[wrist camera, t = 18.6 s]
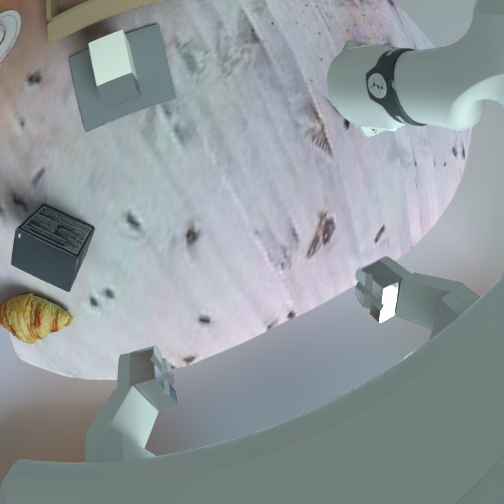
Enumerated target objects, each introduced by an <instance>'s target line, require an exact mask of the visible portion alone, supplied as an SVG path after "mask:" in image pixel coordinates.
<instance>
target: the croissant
mask: <svg viewBox="0 0 504 504" xmlns="http://www.w3.org/2000/svg"><path fill="white" fill-rule="evenodd" d="M73 318H74V317H73V316H72V315H71V314H70V313H68V312H67V311H65V310H63V309H62V308H61V307H59V306H58V305H56V304H54V303H52V302H50V301H48V300H46V299H43V298H40V297H38V296H34V294H33V293H29V294H24V295H18V296H15V297H13V298H11V299H9V300H6V301H4V302H3V303H1V304H0V326H2V327H4V328H7V330H8V331H10V332H11V333H12V334H13V336H16V337H17V338H18V339H20V340H21V341H23V342H26V343H29V344H33V343H36V341H37V340H38V339H42V338H45V337H46V336H47V334H49V333H51V332H56V331H59V330H60V329H61V328H63V326H70V325H71V324H72V323H73V320H74V319H73Z"/></svg>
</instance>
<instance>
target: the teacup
mask: <svg viewBox="0 0 504 504" xmlns="http://www.w3.org/2000/svg"><path fill="white" fill-rule="evenodd" d="M21 25H22V21H21V16H20V14H19V13H18V12H17V11H14V10H9V11H5V12H3V13H1V14H0V42H1V40H2V38H3V36H4V32H5V31H6V35H5V38H4V41H3V42H2V44H1V45H0V62H1V61H2V60H3V59H4V58H5V56H6V55H7V54H8V53H9V52H10V50H11V48H12V47H13V45H14V44H15V42H16V40H17V37H18V35H19V33H20V29H21Z"/></svg>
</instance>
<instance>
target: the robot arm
mask: <svg viewBox="0 0 504 504" xmlns="http://www.w3.org/2000/svg"><path fill="white" fill-rule="evenodd" d="M327 85H328V91H329V95H330V98H331V100H332V102H333V104H334V106H335V108H336V109H337V110H338V112H339V113H340V114H341V115H342V116H343V117H344V118H345V119H347V120H348V121H350V122H352V123H353V124H355V125H356V126H357V128H358V129H359V131H360V132H361V133H362V135H364V136H365V137H371V136H373V135H376V134H378V133H380V132H383V131H385V130H390V131H395V130H396V128H399V127H402V126H403V125H405V124H407V125H412V126H416V125H417V126H424V125H427V124H428V125H434V126H439V127H444V128H448V129H453V130H457V131H462V130H466V129H469V128H471V127H473V126H474V125H475V124H477V122H478V121H479V120H480V118H481V116H482V113H483V110H484V107H485V102H486V99H490V100H495V101H497V102H499V103H501V104H502V107H503V109H504V0H477V2H476V4H475V7H474V12H473V18H472V22H471V25H470V27H469V29H468V31H467V33H466V34H465V35H464V36H463V37H462V38H461V39H460V40H459V41H457V42H456V43H454V44H452V45H449V46H446V47H439V48H432V49H424V50H414V49H410V48H406V49H405V48H397V47H392V48H390V45H382V44H381V43H376V44H367V43H363V42H360V41H357V40H348V41H347V42H346V43H345V45H344V48H343V51H342V52H341V53H340V54H339V55H338V56H336V57H335V59H334V60H333V61H332V63H331V65H330V67H329V70H328V75H327ZM356 279H357V280H358V283H357V285H356V288H355V289H356V296H357V299H358V301H359V302H360V304H361V305H362V306H363V307H365V308H369V309H370V314H371V315H372V316H373V317H374V318H375V319H376V320H377V321H378V322H379V323H381V322H382V321H384V320H386V319H388V318H390V317H392V316H394V315H395V316H397V317H400V318H402V319H405V320H408V321H410V322H413V323H416V324H418V325H421V326H423V327H426V328H428V329H431V333H430V336H429V340H428V341H427V342H426V343H425V344H423V345H422V346H420V347H419V348H417V349H416V350H415V351H414V352H412V353H410V354H409V355H407V356H406V357H405V358H403V359H401V360H400V361H398V362H397V363H395V364H394V365H392V366H391V367H389V368H387V369H386V370H384V371H383V372H381V373H379V374H378V375H376V376H374V377H373V378H371V379H369V380H367V381H366V382H364V383H362V384H361V385H359V386H357V387H355V388H353V389H351V390H350V391H348V392H346V393H344V394H342V395H340V396H338V397H336V398H334V399H332V400H330V401H328V402H326V403H324V404H322V405H319V406H317V407H315V408H313V409H311V410H309V411H306V412H304V413H302V414H300V415H297V416H295V417H292V418H290V419H288V420H285V421H282V422H280V423H277V424H275V425H272V426H269V427H267V428H264V429H261V430H258V431H255V432H252V433H250V434H246V435H243V436H240V437H237V438H233V439H230V440H227V441H223V442H220V443H216V444H213V445H208V446H204V447H201V448H196V449H192V450H187V451H182V452H177V453H172V454H167V455H161V456H155V455H154V454H152V453H151V452H149V451H147V450H146V449H144V448H145V445H146V443H147V440H148V437H149V435H150V432H151V430H152V427H153V424H154V422H155V419H156V417H157V414H158V410H161V409H165V408H169V407H172V406H176V405H178V401H177V395H176V390H175V389H174V388H173V387H172V385H173V383H174V375H173V372H172V369H171V367H170V365H169V363H168V361H167V360H166V359H164V358H162V357H161V351H160V350H159V349H158V347H157V346H152V347H149V348H145V349H141V350H138V351H134V352H131V353H127V354H123V355H120V357H119V363H118V380H117V389H115V390H114V391H113V392H112V394H111V395H110V397H109V398H108V400H107V401H106V403H105V405H104V406H103V408H102V409H101V411H100V412H99V414H98V416H97V417H96V419H95V421H94V422H93V424H92V425H91V427H90V429H89V430H88V432H87V433H86V463H65V462H44V461H33V460H25V459H22V460H18V461H17V462H16V463H15V464H14V466H13V467H12V468H11V469H10V471H9V473H8V474H7V476H6V477H5V479H4V480H3V482H2V485H1V489H0V504H504V273H503V275H502V276H501V277H500V278H499V279H498V280H497V281H496V282H495V283H494V284H493V285H492V286H491V287H490V288H489V289H488V290H487V291H486V292H485V293H484V294H483V295H482V296H481V297H480V296H478V295H477V294H476V293H475V292H473V291H472V290H471V289H470V288H468V287H467V286H465V285H464V284H463V283H461V282H457V281H453V280H448V279H443V278H438V277H433V276H428V275H423V274H418V273H413V274H411V273H410V272H409V271H407V270H406V269H404V268H403V267H402V266H401V265H399V264H398V263H396V262H395V261H394V260H392V259H391V258H390V257H387V256H385V257H383V258H381V259H379V260H377V261H375V262H373V263H371V264H368V265H366V266H364V267H362V268H360V269H358V270H357V271H356Z"/></svg>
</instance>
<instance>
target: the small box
mask: <svg viewBox="0 0 504 504" xmlns="http://www.w3.org/2000/svg"><path fill="white" fill-rule="evenodd" d="M94 230H95V227H93V226H91V225H89V224H86V223H84V222H82V221H80V220H78V219H76V218H74V217H71V216H69V215H67V214H65V213H63V212H61V211H59V210H57V209H55V208H53V207H50V206H48V205H46V204H42V205H41V207H40V208H38V209H37V210H36V211H35V212H34V213H33V214H32V215H31V216H29V217H28V218H27V219H26V220H25V221H24V222H23V223H22V224H21V225H20V226H19V227H17V228H16V231H15V237H14V244H13V251H12V259H11V265H13V266H15V267H17V268H19V269H21V270H23V271H25V272H27V273H29V274H31V275H33V276H35V277H37V278H39V279H41V280H43V281H45V282H47V283H50V284H52V285H54V286H56V287H58V288H61V289H63V290H65V291H67V292H70V290H71V287H72V285H73V282H74V280H75V278H76V275H77V273H78V271H79V269H80V266H81V264H82V262H83V260H84V258H85V256H86V253H87V250H88V247H89V244H90V241H91V238H92V236H93V233H94Z"/></svg>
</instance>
